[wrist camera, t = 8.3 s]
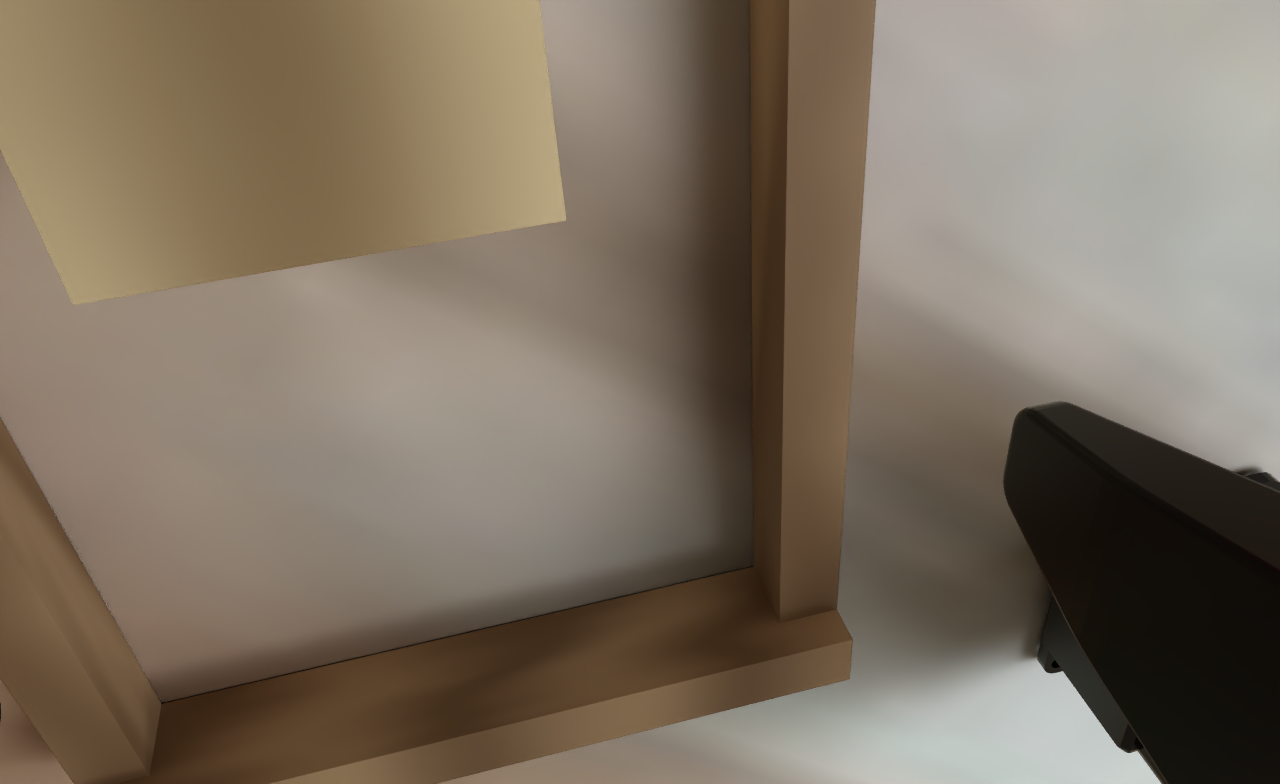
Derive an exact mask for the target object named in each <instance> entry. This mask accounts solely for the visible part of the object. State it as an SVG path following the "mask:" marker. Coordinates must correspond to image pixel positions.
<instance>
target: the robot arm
mask: <svg viewBox="0 0 1280 784" xmlns="http://www.w3.org/2000/svg"><path fill="white" fill-rule="evenodd" d="M1003 483H1004V492H1005V496H1006V500H1007V502H1008V505H1009V507H1010V509H1011V511H1012V513H1013V515H1014V517H1015V519H1016V521H1017V523H1018V525H1019V527H1020V529H1021V531H1022V533H1023V535H1024V537H1025V539H1026V541H1027V543H1028V545H1029V547H1030V549H1031V551H1032V554H1033V556H1034V558H1035V560H1036V562H1037V564H1038V566H1039V568H1040V570H1041V572H1042V574H1043V576H1044V578H1045V580H1046V582H1047V584H1048V586H1049V588H1050V590H1051V592H1052V594H1053V595H1052V599H1051V603H1050V607H1049V611H1048V615H1047V619H1046V623H1045V627H1044V632H1043V636H1042V640H1041V644H1040V648H1039V652H1038V656H1037V660H1038V661H1039V663H1040V664H1041V666H1042V667H1043V668H1044V670H1045V671H1046V672H1047V673H1057V672H1061V671H1063V672H1064V673H1065V674H1066V676H1067V677H1068V679H1069V680H1070V681H1071V683H1072V684H1073V686H1074V687H1075V688H1076V690H1077V691H1078V692H1079V694H1080V695H1081V697H1082V698H1083V699H1084V701H1085V702H1086V704H1087V705H1088V706H1089V708H1090V709H1091V711H1092V712H1093V713H1094V715H1095V716H1096V717H1097V719H1098V720H1099V722H1100V723H1101V724H1102V726H1103V727H1104V729H1105V730H1106V731H1107V733H1108V734H1109V736H1110V737H1111V738H1112V740H1113V741H1114V743H1115V744H1116V745H1117V746H1118V747H1119V748H1120V749H1122V750H1123V751H1125V752H1127V753H1131V752H1135V751H1138V752H1139V753H1140V755H1141V756H1142V758H1143V759H1144V760H1145V762H1146V763H1147V764H1148V766H1149V767H1150V768H1151V770H1152V771H1153V772H1154V774H1155V775H1156V777H1157V778H1158V779H1159V781H1160V782H1161V783H1162V784H1280V482H1279V481H1278V480H1276V479H1275V478H1274V477H1273V476H1272V475H1271V474H1269V473H1267V472H1262V473H1257V474H1253V475H1248V476H1242V475H1239V474H1237V473H1234V472H1232V471H1230V470H1227V469H1225V468H1223V467H1220V466H1218V465H1215V464H1213V463H1211V462H1208V461H1206V460H1204V459H1201V458H1199V457H1197V456H1194V455H1192V454H1189V453H1187V452H1185V451H1182V450H1180V449H1178V448H1175V447H1173V446H1170V445H1168V444H1166V443H1163V442H1161V441H1159V440H1156V439H1154V438H1151V437H1149V436H1147V435H1144V434H1142V433H1140V432H1137V431H1135V430H1133V429H1130V428H1128V427H1125V426H1123V425H1121V424H1118V423H1116V422H1114V421H1111V420H1109V419H1106V418H1104V417H1102V416H1099V415H1097V414H1095V413H1092V412H1090V411H1087V410H1085V409H1083V408H1080V407H1078V406H1076V405H1073V404H1071V403H1068V402H1062V401H1061V402H1052V403H1047V404H1042V405H1037V406H1032V407H1027V408H1025V409H1023V410H1021V411H1020V412H1019V413H1018V414H1017V416H1016V418H1015V420H1014V424H1013V428H1012V434H1011V439H1010V445H1009V450H1008V455H1007V461H1006V466H1005V471H1004V479H1003ZM0 720H1V704H0Z"/></svg>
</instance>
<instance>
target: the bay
mask: <svg viewBox="0 0 1280 784" xmlns="http://www.w3.org/2000/svg"><path fill="white" fill-rule="evenodd" d="M875 7H876V0H750V109H751V252H752V396H753V540H754V567H750V568H746V569H741V570H737V571H733V572H728V573H724V574H720V575H715V576H711V577H707V578H702V579H698V580H694V581H690V582H685V583H681V584H677V585H672V586H668V587H664V588H659V589H655V590H651V591H646V592H642V593H638V594H633V595H629V596H625V597H621V598H616V599H612V600H608V601H603V602H599V603H595V604H590V605H586V606H582V607H577V608H573V609H569V610H565V611H560V612H556V613H552V614H547V615H543V616H539V617H534V618H530V619H526V620H521V621H517V622H513V623H508V624H504V625H500V626H496V627H491V628H487V629H483V630H478V631H474V632H470V633H465V634H461V635H457V636H452V637H448V638H444V639H440V640H435V641H431V642H427V643H422V644H418V645H414V646H409V647H405V648H401V649H396V650H392V651H388V652H384V653H379V654H375V655H371V656H366V657H362V658H358V659H353V660H349V661H345V662H340V663H336V664H332V665H327V666H323V667H319V668H315V669H310V670H306V671H302V672H297V673H293V674H289V675H284V676H280V677H276V678H271V679H267V680H263V681H259V682H254V683H250V684H246V685H241V686H237V687H233V688H228V689H224V690H220V691H215V692H211V693H207V694H202V695H198V696H194V697H190V698H185V699H181V700H177V701H172V702H168V703H164V704H161V702H160V700H159V699H158V697H157V695H156V693H155V692H154V690H153V688H152V686H151V684H150V683H149V681H148V679H147V677H146V676H145V674H144V672H143V670H142V668H141V667H140V665H139V663H138V661H137V660H136V658H135V656H134V654H133V652H132V651H131V649H130V647H129V645H128V644H127V642H126V640H125V638H124V636H123V635H122V633H121V631H120V629H119V628H118V626H117V624H116V622H115V620H114V619H113V617H112V615H111V613H110V612H109V610H108V608H107V606H106V604H105V603H104V601H103V599H102V597H101V596H100V594H99V592H98V590H97V588H96V587H95V585H94V583H93V581H92V580H91V578H90V576H89V574H88V572H87V571H86V569H85V567H84V565H83V564H82V562H81V560H80V558H79V557H78V555H77V553H76V551H75V549H74V548H73V546H72V544H71V542H70V541H69V539H68V537H67V535H66V533H65V532H64V530H63V528H62V526H61V525H60V523H59V521H58V519H57V517H56V516H55V514H54V512H53V510H52V509H51V507H50V505H49V503H48V501H47V500H46V498H45V496H44V494H43V493H42V491H41V489H40V487H39V485H38V484H37V482H36V480H35V478H34V477H33V475H32V473H31V471H30V469H29V468H28V466H27V464H26V462H25V461H24V459H23V457H22V455H21V453H20V452H19V450H18V448H17V446H16V445H15V443H14V441H13V439H12V437H11V436H10V434H9V432H8V430H7V429H6V427H5V425H4V423H3V421H2V420H1V418H0V678H1V680H2V681H3V683H4V684H5V686H6V687H7V688H8V690H9V691H10V693H11V694H12V696H13V697H14V698H15V700H16V701H17V703H18V704H19V706H20V707H21V708H22V710H23V711H24V713H25V714H26V716H27V717H28V719H29V720H30V721H31V723H32V724H33V726H34V727H35V729H36V730H37V731H38V733H39V734H40V736H41V737H42V739H43V740H44V741H45V743H46V744H47V746H48V747H49V749H50V750H51V752H52V753H53V754H54V756H55V757H56V759H57V760H58V762H59V763H60V764H61V766H62V767H63V769H64V770H65V772H66V773H67V775H68V776H69V777H70V779H71V780H72V782H73V783H74V784H436V783H440V782H444V781H448V780H452V779H456V778H460V777H464V776H468V775H472V774H476V773H480V772H484V771H488V770H492V769H496V768H500V767H504V766H507V765H511V764H515V763H519V762H523V761H527V760H531V759H535V758H539V757H543V756H547V755H551V754H555V753H559V752H563V751H567V750H571V749H575V748H579V747H583V746H587V745H591V744H595V743H598V742H602V741H606V740H610V739H614V738H618V737H622V736H626V735H630V734H634V733H638V732H642V731H646V730H650V729H654V728H658V727H662V726H666V725H670V724H674V723H678V722H682V721H686V720H689V719H693V718H697V717H701V716H705V715H709V714H713V713H717V712H721V711H725V710H729V709H733V708H737V707H741V706H745V705H749V704H753V703H757V702H761V701H765V700H769V699H773V698H777V697H780V696H784V695H788V694H792V693H796V692H800V691H804V690H808V689H812V688H816V687H820V686H824V685H828V684H832V683H836V682H840V681H844V680H848V679H850V668H851V655H852V643H853V639H852V637H851V635H850V634H849V632H848V630H847V628H846V626H845V624H844V622H843V620H842V618H841V617H840V615H839V613H838V611H837V598H838V582H839V567H840V551H841V536H842V520H843V504H844V489H845V473H846V458H847V442H848V427H849V411H850V396H851V380H852V364H853V349H854V333H855V318H856V302H857V287H858V271H859V256H860V240H861V224H862V209H863V193H864V178H865V162H866V147H867V131H868V116H869V100H870V84H871V69H872V53H873V38H874V22H875Z"/></svg>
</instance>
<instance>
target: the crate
mask: <svg viewBox="0 0 1280 784" xmlns="http://www.w3.org/2000/svg"><path fill="white" fill-rule="evenodd" d="M0 150H1V152H2V154H3V156H4V158H5V160H6V162H7V165H8V167H9V169H10V171H11V173H12V175H13V177H14V180H15V182H16V184H17V186H18V188H19V190H20V192H21V195H22V197H23V199H24V201H25V203H26V205H27V207H28V210H29V212H30V214H31V216H32V218H33V220H34V222H35V225H36V227H37V229H38V231H39V233H40V235H41V237H42V240H43V242H44V244H45V246H46V248H47V250H48V252H49V255H50V257H51V259H52V261H53V263H54V265H55V267H56V270H57V272H58V274H59V276H60V278H61V280H62V282H63V285H64V287H65V289H66V291H67V293H68V295H69V297H70V300H71V302H72V304H73V305H77V304H83V303H89V302H95V301H101V300H106V299H112V298H118V297H124V296H130V295H135V294H141V293H147V292H153V291H159V290H165V289H170V288H176V287H182V286H188V285H194V284H199V283H205V282H211V281H217V280H223V279H228V278H234V277H240V276H246V275H252V274H258V273H263V272H269V271H275V270H281V269H287V268H292V267H298V266H304V265H310V264H316V263H321V262H327V261H333V260H339V259H345V258H351V257H356V256H362V255H368V254H374V253H380V252H385V251H391V250H397V249H403V248H409V247H415V246H420V245H426V244H432V243H438V242H444V241H449V240H455V239H461V238H467V237H473V236H478V235H484V234H490V233H496V232H502V231H508V230H513V229H519V228H525V227H531V226H537V225H542V224H548V223H554V222H560V221H566V214H565V206H564V197H563V189H562V181H561V173H560V165H559V157H558V149H557V141H556V133H555V124H554V116H553V108H552V100H551V92H550V84H549V76H548V68H547V60H546V52H545V43H544V35H543V27H542V19H541V11H540V3H539V0H0Z"/></svg>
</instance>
